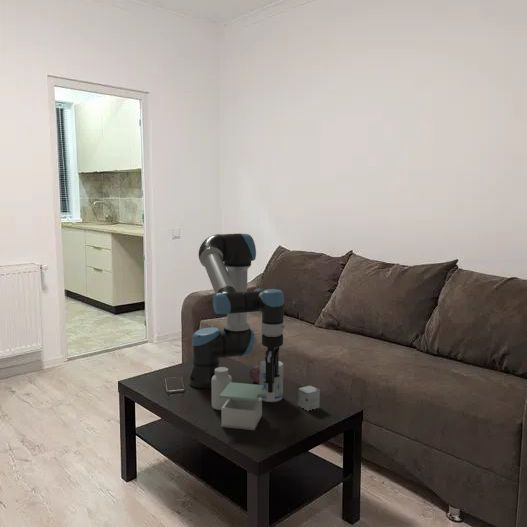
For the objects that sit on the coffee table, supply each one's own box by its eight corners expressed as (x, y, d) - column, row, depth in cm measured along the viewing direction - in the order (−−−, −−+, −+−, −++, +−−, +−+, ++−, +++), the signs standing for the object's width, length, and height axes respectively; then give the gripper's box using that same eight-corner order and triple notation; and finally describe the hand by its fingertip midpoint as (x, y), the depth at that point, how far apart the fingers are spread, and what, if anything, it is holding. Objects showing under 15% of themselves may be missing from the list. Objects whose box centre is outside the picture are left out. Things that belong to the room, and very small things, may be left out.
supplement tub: (263, 404, 203) (263, 368, 201) (256, 395, 212) (256, 360, 210) (286, 401, 206) (286, 365, 204) (278, 392, 215) (278, 358, 213)
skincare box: (297, 406, 201) (298, 388, 200) (309, 402, 205) (310, 384, 204) (307, 411, 196) (308, 393, 195) (320, 407, 200) (320, 389, 199)
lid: (229, 386, 194) (229, 368, 193) (277, 391, 190) (277, 372, 189) (219, 400, 182) (219, 381, 181) (270, 405, 178) (270, 385, 177)
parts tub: (230, 412, 195) (230, 395, 194) (261, 415, 192) (262, 397, 191) (221, 426, 183) (221, 408, 182) (254, 430, 181) (254, 411, 180)
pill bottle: (212, 411, 196) (211, 373, 194) (211, 402, 204) (210, 366, 202) (233, 409, 197) (233, 372, 195) (231, 401, 205) (231, 365, 203)
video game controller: (259, 379, 234) (252, 365, 234) (268, 375, 233) (261, 361, 233) (252, 386, 225) (245, 372, 225) (261, 383, 224) (254, 368, 224)
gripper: (278, 341, 172) (277, 408, 175) (287, 328, 188) (286, 389, 192) (256, 340, 173) (256, 406, 177) (267, 326, 190) (266, 387, 193)
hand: (272, 397), depth 184 cm, fingers closed on lid, 4 cm apart
